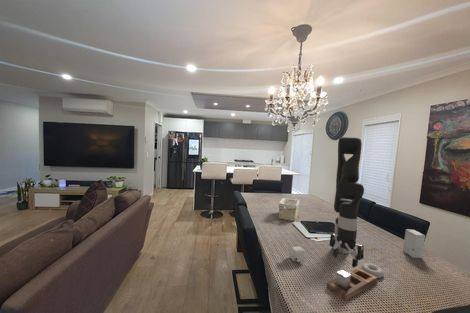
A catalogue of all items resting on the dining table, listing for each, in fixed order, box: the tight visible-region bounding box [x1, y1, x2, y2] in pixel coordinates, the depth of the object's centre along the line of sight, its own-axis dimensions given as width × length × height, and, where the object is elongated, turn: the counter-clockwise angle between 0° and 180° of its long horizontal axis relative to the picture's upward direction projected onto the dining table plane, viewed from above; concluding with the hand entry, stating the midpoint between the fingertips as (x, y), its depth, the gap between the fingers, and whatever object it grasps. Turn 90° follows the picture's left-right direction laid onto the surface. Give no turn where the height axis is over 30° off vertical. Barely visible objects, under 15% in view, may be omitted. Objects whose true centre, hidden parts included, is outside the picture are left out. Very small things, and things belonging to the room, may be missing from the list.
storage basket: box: [278, 197, 300, 222], centre depth 191 cm, size 24×16×15 cm
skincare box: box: [402, 228, 426, 259], centre depth 129 cm, size 8×6×15 cm
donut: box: [360, 262, 385, 279], centre depth 109 cm, size 10×4×10 cm
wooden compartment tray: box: [326, 267, 378, 302], centre depth 98 cm, size 9×26×3 cm, turn 121°
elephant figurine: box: [287, 243, 307, 263], centre depth 118 cm, size 10×12×9 cm
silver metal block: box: [335, 269, 351, 291], centre depth 93 cm, size 4×4×8 cm
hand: (344, 261), depth 93 cm, fingers open, 8 cm apart
